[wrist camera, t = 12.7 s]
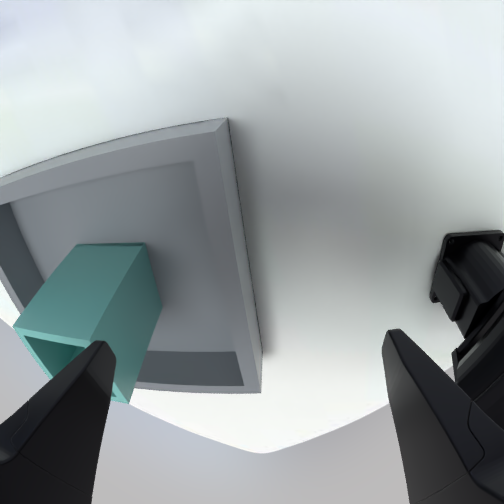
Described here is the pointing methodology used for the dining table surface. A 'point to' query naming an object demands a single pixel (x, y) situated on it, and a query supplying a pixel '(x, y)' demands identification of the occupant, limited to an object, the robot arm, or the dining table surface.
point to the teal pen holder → (95, 311)
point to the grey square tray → (149, 244)
